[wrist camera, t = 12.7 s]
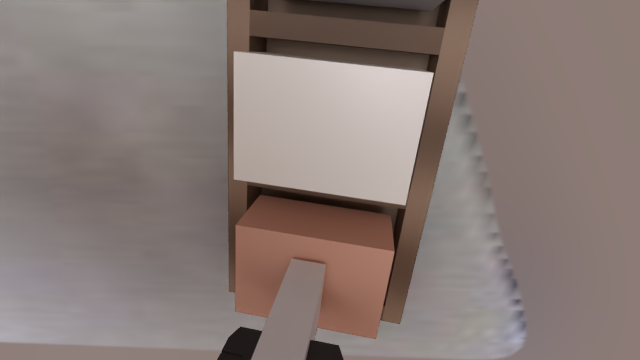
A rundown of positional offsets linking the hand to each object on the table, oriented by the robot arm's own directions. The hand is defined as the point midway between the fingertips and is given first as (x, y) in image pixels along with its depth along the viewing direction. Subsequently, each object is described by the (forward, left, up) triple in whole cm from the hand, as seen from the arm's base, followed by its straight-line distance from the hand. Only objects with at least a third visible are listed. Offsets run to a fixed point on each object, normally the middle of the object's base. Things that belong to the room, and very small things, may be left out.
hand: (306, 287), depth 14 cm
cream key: (-7, 0, -3) cm, 8 cm away
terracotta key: (0, 0, -4) cm, 4 cm away
